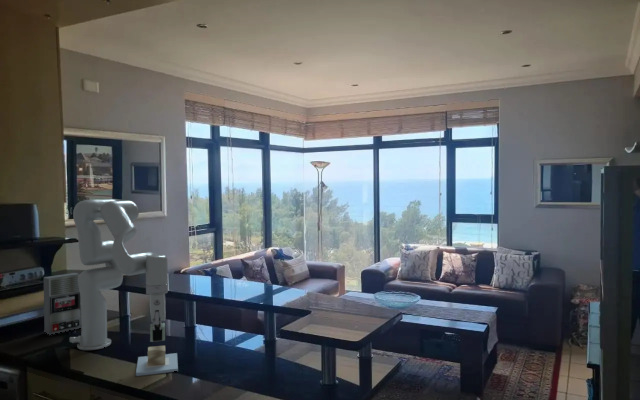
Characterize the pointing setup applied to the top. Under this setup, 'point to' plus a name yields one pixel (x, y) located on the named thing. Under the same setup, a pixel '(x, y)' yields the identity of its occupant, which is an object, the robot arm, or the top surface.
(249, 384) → the top surface
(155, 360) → the birch block
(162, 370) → the board
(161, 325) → the sage block
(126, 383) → the top surface
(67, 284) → the cassette tape recorder
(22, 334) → the top surface
